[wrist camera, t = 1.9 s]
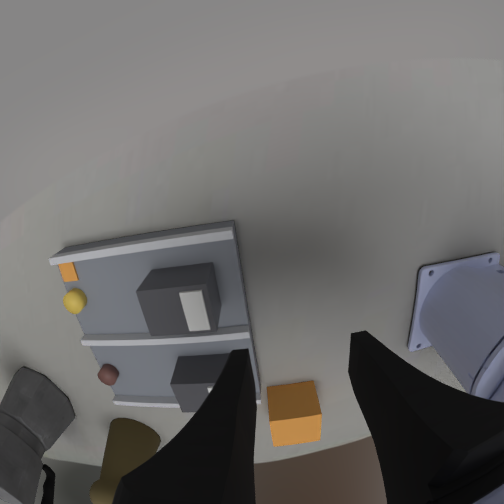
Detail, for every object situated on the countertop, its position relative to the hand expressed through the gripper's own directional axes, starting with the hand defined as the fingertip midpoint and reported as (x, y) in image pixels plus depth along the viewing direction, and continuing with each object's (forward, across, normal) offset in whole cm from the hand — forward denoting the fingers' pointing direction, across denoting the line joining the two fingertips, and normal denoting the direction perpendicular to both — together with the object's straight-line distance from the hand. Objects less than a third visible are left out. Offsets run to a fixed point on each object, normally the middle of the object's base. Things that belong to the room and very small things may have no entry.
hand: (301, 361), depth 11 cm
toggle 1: (+8, +6, 0) cm, 10 cm away
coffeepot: (+10, +28, +14) cm, 33 cm away
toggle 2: (+8, +6, +7) cm, 12 cm away
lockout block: (+10, 0, +13) cm, 16 cm away
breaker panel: (+9, +9, +4) cm, 13 cm away
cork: (+10, +18, +18) cm, 27 cm away
